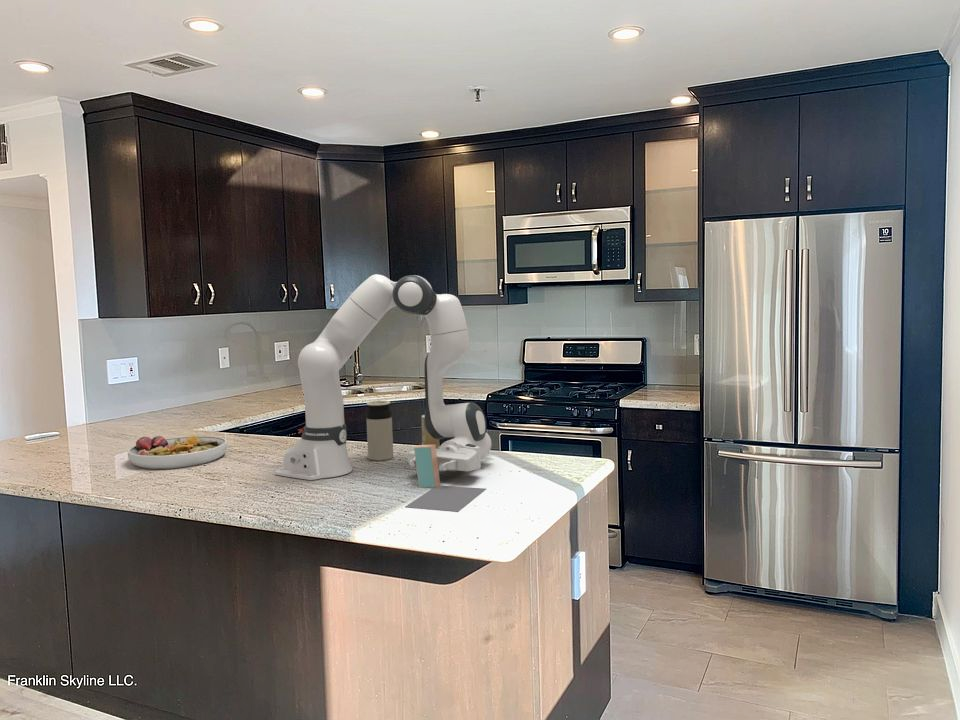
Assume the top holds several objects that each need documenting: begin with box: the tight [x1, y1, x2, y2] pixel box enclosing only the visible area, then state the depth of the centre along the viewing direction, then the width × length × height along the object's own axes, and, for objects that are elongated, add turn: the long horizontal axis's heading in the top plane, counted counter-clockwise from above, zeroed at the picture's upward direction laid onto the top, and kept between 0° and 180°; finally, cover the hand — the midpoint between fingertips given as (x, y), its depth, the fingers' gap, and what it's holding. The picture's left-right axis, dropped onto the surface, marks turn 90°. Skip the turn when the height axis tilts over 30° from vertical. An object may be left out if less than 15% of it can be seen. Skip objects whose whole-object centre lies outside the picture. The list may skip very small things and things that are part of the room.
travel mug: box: [365, 400, 394, 462], centre depth 225 cm, size 8×8×18 cm
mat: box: [404, 484, 487, 513], centre depth 179 cm, size 14×20×1 cm
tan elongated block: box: [413, 444, 441, 489], centre depth 191 cm, size 5×3×11 cm, turn 70°
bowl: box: [127, 434, 228, 470], centre depth 232 cm, size 30×30×8 cm
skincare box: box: [421, 414, 441, 449], centre depth 230 cm, size 6×4×12 cm
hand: (426, 465), depth 190 cm, fingers open, 8 cm apart
